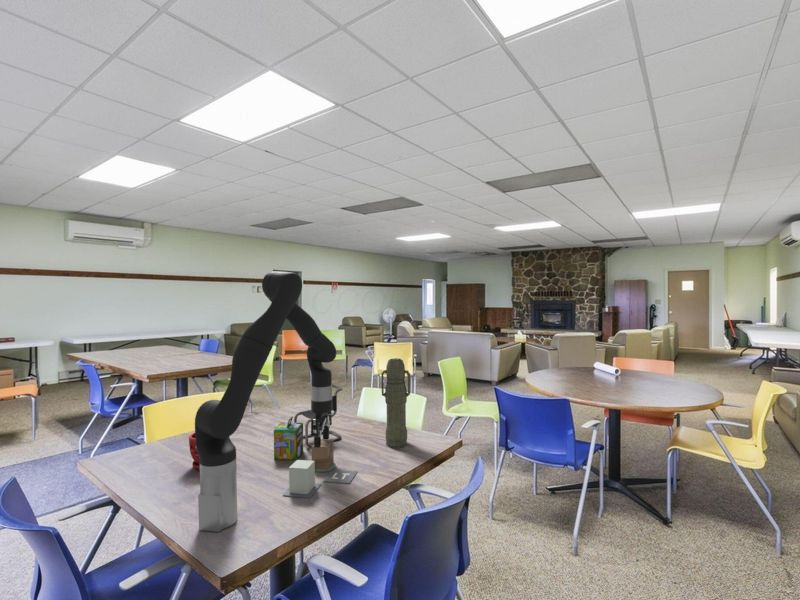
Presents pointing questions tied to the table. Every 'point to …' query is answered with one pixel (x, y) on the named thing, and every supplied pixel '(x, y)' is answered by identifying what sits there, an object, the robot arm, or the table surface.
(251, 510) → the table surface
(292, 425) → the chalk box
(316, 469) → the rubber coaster
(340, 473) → the tile
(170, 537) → the table surface
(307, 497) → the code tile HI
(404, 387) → the thermos
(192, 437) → the plant pot
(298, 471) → the sage block
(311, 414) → the chair
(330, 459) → the walnut block
